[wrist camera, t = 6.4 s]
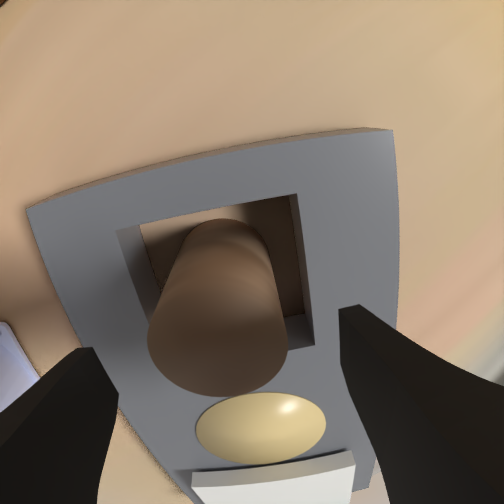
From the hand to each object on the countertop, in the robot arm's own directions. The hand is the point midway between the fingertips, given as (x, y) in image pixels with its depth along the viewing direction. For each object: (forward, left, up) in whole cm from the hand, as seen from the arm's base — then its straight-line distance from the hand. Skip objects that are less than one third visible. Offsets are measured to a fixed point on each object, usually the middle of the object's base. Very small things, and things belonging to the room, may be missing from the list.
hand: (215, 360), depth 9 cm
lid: (0, -17, -3) cm, 17 cm away
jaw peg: (0, 0, -6) cm, 6 cm away
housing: (0, -8, -6) cm, 10 cm away
